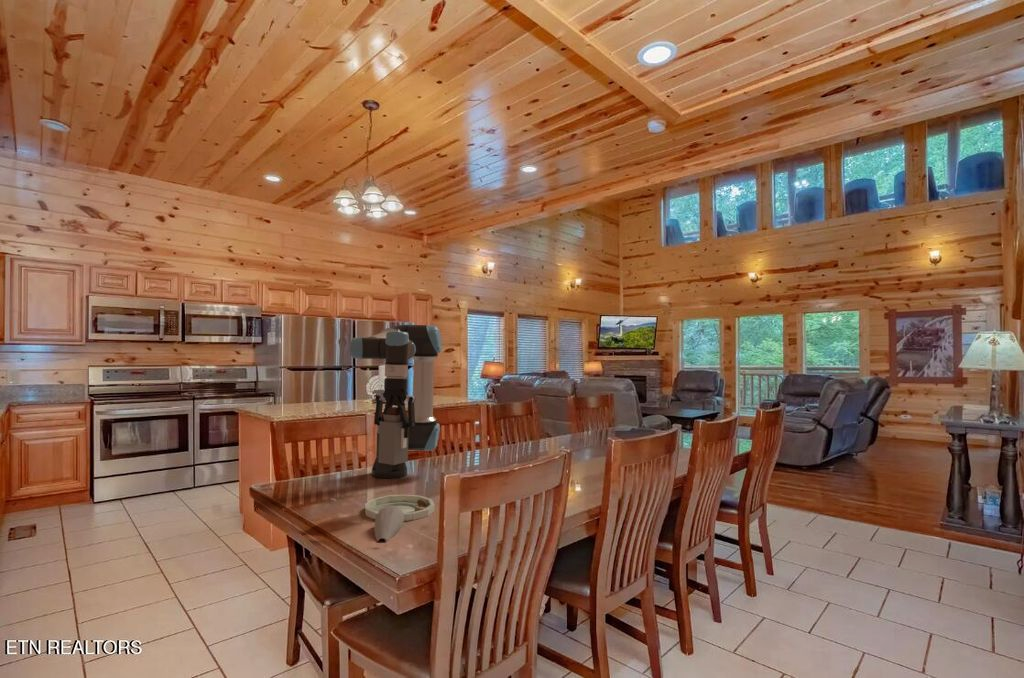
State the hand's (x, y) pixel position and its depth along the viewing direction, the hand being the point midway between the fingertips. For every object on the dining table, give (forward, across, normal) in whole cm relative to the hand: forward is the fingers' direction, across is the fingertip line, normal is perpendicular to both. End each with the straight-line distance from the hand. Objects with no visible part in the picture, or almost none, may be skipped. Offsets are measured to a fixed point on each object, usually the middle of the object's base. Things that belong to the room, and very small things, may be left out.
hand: (393, 446), depth 171 cm
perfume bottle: (+5, 0, 0) cm, 5 cm away
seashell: (+22, +8, -19) cm, 30 cm away
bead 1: (+20, +8, +6) cm, 23 cm away
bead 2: (+21, +11, -2) cm, 23 cm away
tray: (+22, +3, 0) cm, 22 cm away
